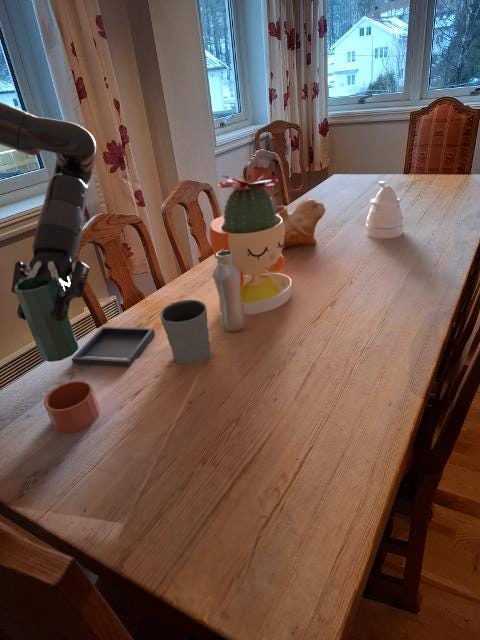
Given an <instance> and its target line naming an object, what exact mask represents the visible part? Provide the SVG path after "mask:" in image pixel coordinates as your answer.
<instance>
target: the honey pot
mask: <svg viewBox="0 0 480 640" xmlns="http://www.w3.org/2000/svg"><path fill="white" fill-rule="evenodd" d="M386 183H387V181H386V180H385V181H384V180H381V181H377V185H378V187H379V188H380V190H379V191H378V193H377V194H376V195H375V197H374V198H371V200H370V204H371V207H370V208H369V212H368V216H367V217H366V220H365V221H366V224H365V234H366V235H367V236H368V237H371V238H374V239H393V238H397V237H400V236H402V235H403V232H404V220H405V218H404V216H403V211H402V207H401V205H400V203H401V198H399V197H398V196H397V194H396V192H395V190H394V189H393V188H392V186H390V185H386Z"/></svg>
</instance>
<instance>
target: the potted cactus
mask: <svg viewBox="0 0 480 640" xmlns="http://www.w3.org/2000/svg"><path fill="white" fill-rule="evenodd" d="M264 171H265V167H264V166H262V165H261V166H260V167H258V168H256V167H255V168H253V169H251V170H250V171H248V172H246V174H245V175H244V174H242V175H240V177H233V178H232V177H230V176H228V175H221V177H222V178H225V179H227V180H226V182H225V183H224V182H223V181H219V183H218V184H217V186H218V187H219V188H221V189H225V188H226V189H227V188H228V189H229V188H230V189H232V190H229V194H226V196H227V197H226V196H225V197H226V198H227V200H224V202H225V204H223V205H222V207H223V208H224V209H223V208H222V210H221V212H223V215H220V216H219V217H216V218H214V219H212V221H211V222H210V225H209V241H210V245H211V249H212V252H213V255H214V258H215V260H216V261H217V256H216V254H217V253H218V252H220V251H232V255H233V261H232V262H233V263H234V264H235V265H236V266H237V267H238V268H239V270H240V273H241V283H240V289H241V300H242V304H243V309H244V311H245V314H246V315H255V314H261V313H266V312H268V311H272V310H274V309H277V308H278V307H280V306H283V305H284V304H285V303H287V302H288V301H289V300H290V299H291V297H292V295H293V283H292V282H293V281H292V279H291V277H290V276H288V275H287V274H285V273H280V272H279V271H282V270H283V268H284V267H285V265H286V260H285V257H284V256H283V255H282V253H283V251H284V250H283V246H284V242H285V229H284V224H283V220H282V218H281V216H280V214H276V212H278V211H276V209H277V208H275V207H276V206H277V205H276V204H275V202H274V201H275V197H274V198H273V196H272V195H273V194H274V193H271V195H270V190H268V188H269V187H271V188H272V187H274V186H275V185H276V184H277V183H279V179H278V178H277V177H276V176H275V175H272V174H271V175H269V176H267V177H266V178H264V174H263V173H264ZM263 178H264V179H263Z"/></svg>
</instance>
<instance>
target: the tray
mask: <svg viewBox="0 0 480 640" xmlns="http://www.w3.org/2000/svg"><path fill="white" fill-rule="evenodd" d="M155 336H156V333H155V329H154V328H153V327H152V328H151V327H120V326H119V327H117V326H101V327H100V328H99V330H97V332H96V333H95V334H93V336H92V337H91V338H90V339H89V340H88V341H87V342H86V343H85V344H84V345H83V346H82V347H81V348H80V350H78V351H77V352H76V353H75V355H73V357H72V358H71V361H72V364H73V365H81V366H82V365H83V366H84V365H85V366H100V367H101V366H103V367H119V368H130V367H131V366H132V365H133V363H134V362H135V361H136V360H138V359H139V358H140V356H141V355H142V354H143V353H144V351H145V349H146V348H147V347H148V346H149V344H150V343H151V342H152V340H153V339H154V337H155Z"/></svg>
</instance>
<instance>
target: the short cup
mask: <svg viewBox="0 0 480 640" xmlns="http://www.w3.org/2000/svg"><path fill="white" fill-rule="evenodd" d="M43 405H44V408H45V410H46V412H47V415H48V417H49V420H50V422H51V425H52V427H53V429H54V430H55V431H56V432H57V433H61V434H72V433H73V434H74V433H77V432H80V431H83V430H85V429H86V428H88V427H90V426H91V425H92V424H94V423H95V422H96V421H97V420H98V418H99V416H100V412H101V408H100V405H99V403H98V399H97V396H96V394H95V391H94V388H93V387H92V384H91V383H90V382H88V381H85V380H72V381H68V382H64V383H62V384H60V385H58V386H56V387H54V388H53V389H52V390H50V392H48V394H47V395H46V396H45V398H44V400H43Z"/></svg>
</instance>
